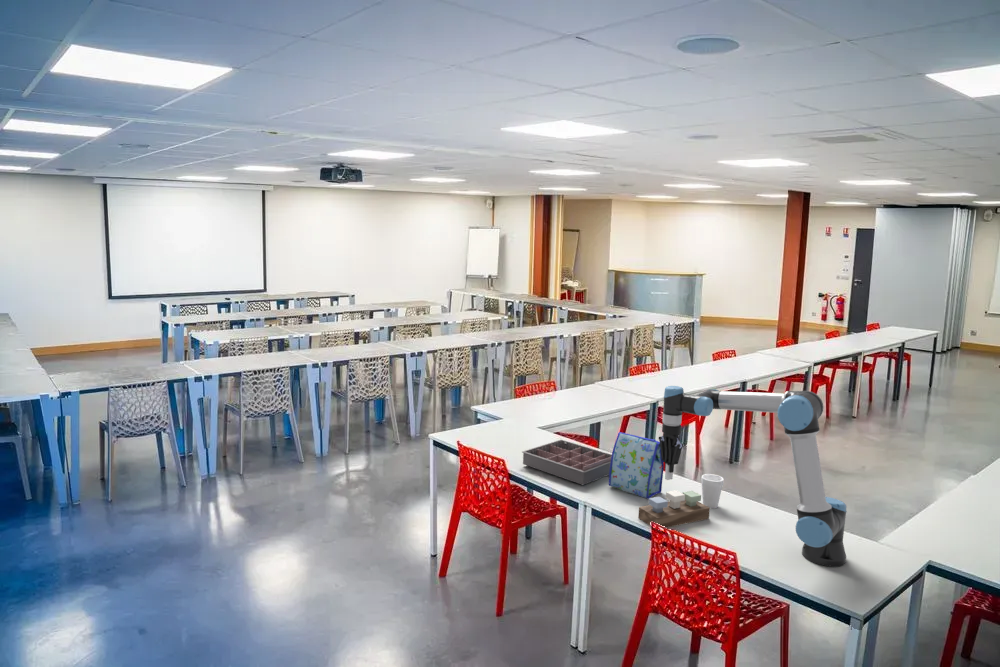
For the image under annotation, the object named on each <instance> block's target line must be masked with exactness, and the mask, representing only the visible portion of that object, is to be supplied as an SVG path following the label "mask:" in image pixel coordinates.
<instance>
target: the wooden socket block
mask: <svg viewBox="0 0 1000 667" xmlns="http://www.w3.org/2000/svg"><path fill="white" fill-rule="evenodd" d="M669 505H670V500H669V501H668V506H667V507H665V508H663V512H660V513H656V512H654V511H652V509H653V506H651V505H649V504H648V505H644V506H639V507H638V517H637V518H638V519H639V520H640V521H642V522H644V523H645V524H647V525H649V526H650V522H651V521H653V522H655V523H658V524H660V525H662V526H665V527H667V528H671V527H676V526H681V525H685V524H690V523H696V522H701V521H705V520H710V510H711V508H709V507H707V506H706V505H704V504H703V502H701V501H697V502H696V506H692V507H690V506H688V505H687V504H686V500H685V501H680V508H676V509H674V508H672V507H670V506H669Z"/></svg>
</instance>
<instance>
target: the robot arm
mask: <svg viewBox="0 0 1000 667" xmlns="http://www.w3.org/2000/svg"><path fill="white" fill-rule="evenodd" d="M713 410H727V411H743V412H744V411H745V412H756V413H757V412H759V413H760V412H761V413H776V414H777V418H778V421H779V423H780V424H781V426H783V430H784V434H785V435H786V436H787V437H789V439H790V444H791V445H790V446H791V454H792V457H793V458H792V459H793V466H794V471H795V478H796V484H797V490H798V496H799V504H798V505H796V514H797V519H798V520H797V521H796V525H795V533H796V536H797V537H798V539H799V540H801V542H802V543H803V545H802V547H801V555H802V557H804V558H805V559H806V560H807V561H810V562H811V563H814V564H817V565H820V566H824V567H833V568H834V567H835V568H836V567H842V566H845V565H846V563H847V553H846V550H845V546H844V545H845V544H844V535H845V527H846V526H845V524H846V518H847V517H846V516H847V515H846V514H847V513H848V511H847V504H846V503H845V502H844V501H842V500H839V499H837V498H833V497H830V496H826V491H825V485H824V479H823V474H822V466H821V460H820V453H819V448H818V442H817V435H818V433H820V431H821V430H820V424H819V418H821V416H822V415H823V413H824V402H823V400H822V399H821V397H820V396H819V395H818V394H817V393H815V392H813V391H810V390H787V391H785V392H784V393H782V392H781V393H777V392H759V391H758V392H754V391H753V392H751V391H733V390H732V391H730V390H729V391H727V390H719V389H716V388H715V389H714V388H712V389H707V390H705V391H703V392H700V393H698V394H690V393H685V392H684V387H682V386H678V385H668V386H666V387H665V388H664V393H663V412H662V420H661V421H662V428H661V432H662V435H661V436H658V442H660V448H661V458H662V460H664V462H663V463H664V471H665V473H664V479H665V480H666V481H670V480H673V478H674V477H673V474H674V472H675V465H679V462H680V457H681V453H682V449H683V448H684V443H682V442H680V435H681V434H682V425H681V424H682V420H683V419H682V417H683V413H686V414H690V415H695V416H696V415H697V416H699V417H700V416H702V417H709V416H711V414H712V413H713Z"/></svg>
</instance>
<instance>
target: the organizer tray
mask: <svg viewBox="0 0 1000 667" xmlns="http://www.w3.org/2000/svg"><path fill="white" fill-rule="evenodd" d="M521 453H523V454H522V455H523V456H522V458H523V460H522V461H523V462H522V464H523V465H525V466H528V467H531V468H533V469H535V470H538V471H542V472H545V473H547V474H549V475H553V476H556V477H560V478H563V479H565V480H567V481H570V482H573V483H577V484H580V485H582V486H584V485H586V484H589V483H592V482H594V481H597V480H600V479H601V478H604V477H606V476H609V470H610V463H611V457H612V453H608V452H605V451H602V450H599V449H594V448H591V447H588V446H585V445H581V444H577V443H574V442H570V441H567V440H564V439H558V440H554V441H552V442H548V443H544V444H542V445H539V446H536V447H532V448H529V449H525V450H522V451H521Z"/></svg>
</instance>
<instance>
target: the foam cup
mask: <svg viewBox="0 0 1000 667" xmlns="http://www.w3.org/2000/svg"><path fill="white" fill-rule="evenodd" d="M700 479H701V480H700V481H701V492H702V494H701V498H702V504H704V505H706V506H707V507H709V508H710V509H717V508H718V506H719V502H720V498H721V494H722V489H723V486H724V480H725V479H724V477H723V476H721V475H718V474H714V473H712V474H711V473H705V474H702V475H701V478H700Z"/></svg>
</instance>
